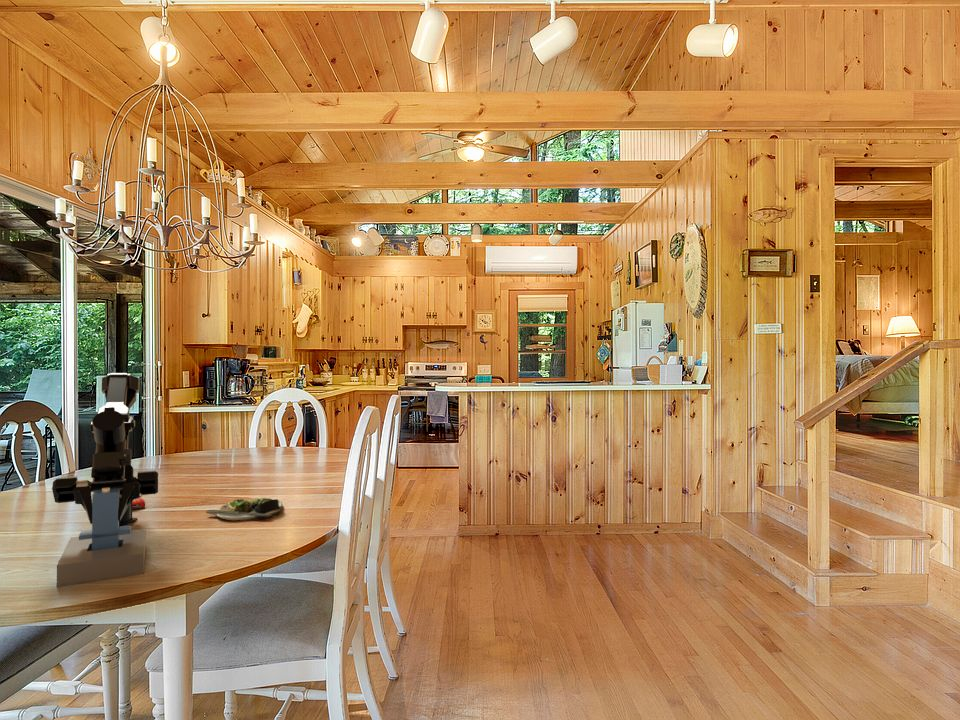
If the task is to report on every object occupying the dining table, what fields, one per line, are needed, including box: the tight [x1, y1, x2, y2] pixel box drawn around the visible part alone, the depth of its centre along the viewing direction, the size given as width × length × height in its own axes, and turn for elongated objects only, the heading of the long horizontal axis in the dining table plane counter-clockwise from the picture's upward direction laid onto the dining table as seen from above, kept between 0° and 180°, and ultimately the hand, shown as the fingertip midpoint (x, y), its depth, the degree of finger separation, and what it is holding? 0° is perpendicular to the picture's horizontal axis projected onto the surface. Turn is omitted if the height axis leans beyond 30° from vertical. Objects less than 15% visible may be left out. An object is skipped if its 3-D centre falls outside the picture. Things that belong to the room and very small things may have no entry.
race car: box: [132, 494, 146, 511], centre depth 161 cm, size 13×5×4 cm, turn 47°
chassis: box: [56, 528, 147, 587], centre depth 116 cm, size 18×14×4 cm
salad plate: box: [205, 497, 283, 522], centre depth 155 cm, size 19×18×5 cm
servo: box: [78, 487, 132, 551], centre depth 116 cm, size 4×9×14 cm, turn 120°
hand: (105, 521), depth 115 cm, fingers closed on servo, 4 cm apart
